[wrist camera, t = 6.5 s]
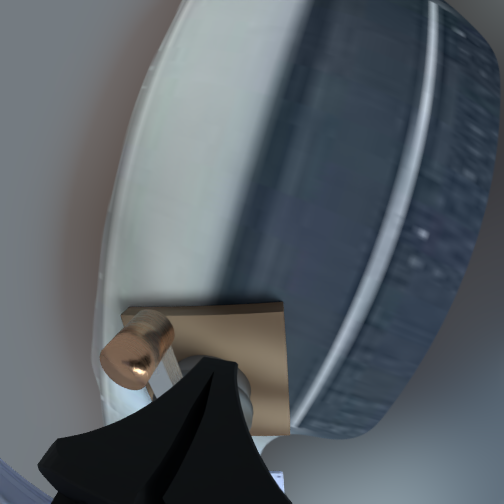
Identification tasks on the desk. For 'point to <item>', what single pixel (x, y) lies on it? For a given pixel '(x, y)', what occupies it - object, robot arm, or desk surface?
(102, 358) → the hammer
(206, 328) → the wooden base with cylinder
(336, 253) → the desk surface
